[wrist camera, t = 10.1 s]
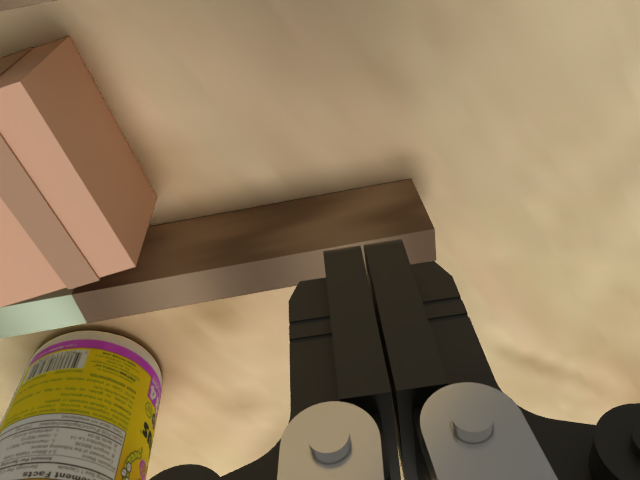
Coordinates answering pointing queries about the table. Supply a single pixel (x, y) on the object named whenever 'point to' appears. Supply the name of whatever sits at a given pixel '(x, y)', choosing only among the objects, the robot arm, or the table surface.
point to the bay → (233, 253)
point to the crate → (63, 178)
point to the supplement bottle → (82, 411)
